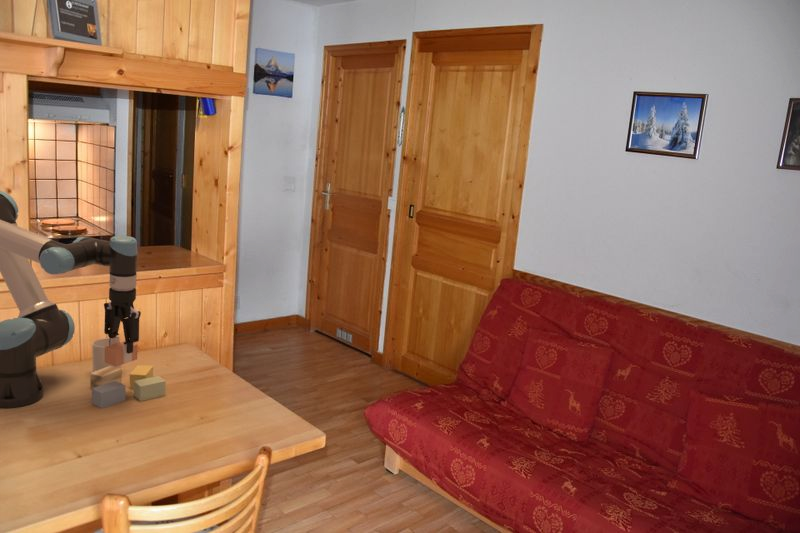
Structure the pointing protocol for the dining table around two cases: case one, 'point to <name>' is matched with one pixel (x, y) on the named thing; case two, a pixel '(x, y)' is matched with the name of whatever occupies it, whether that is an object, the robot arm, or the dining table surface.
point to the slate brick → (108, 394)
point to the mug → (100, 354)
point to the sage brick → (149, 388)
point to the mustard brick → (140, 374)
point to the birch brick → (106, 376)
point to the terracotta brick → (118, 354)
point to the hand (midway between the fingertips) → (120, 359)
